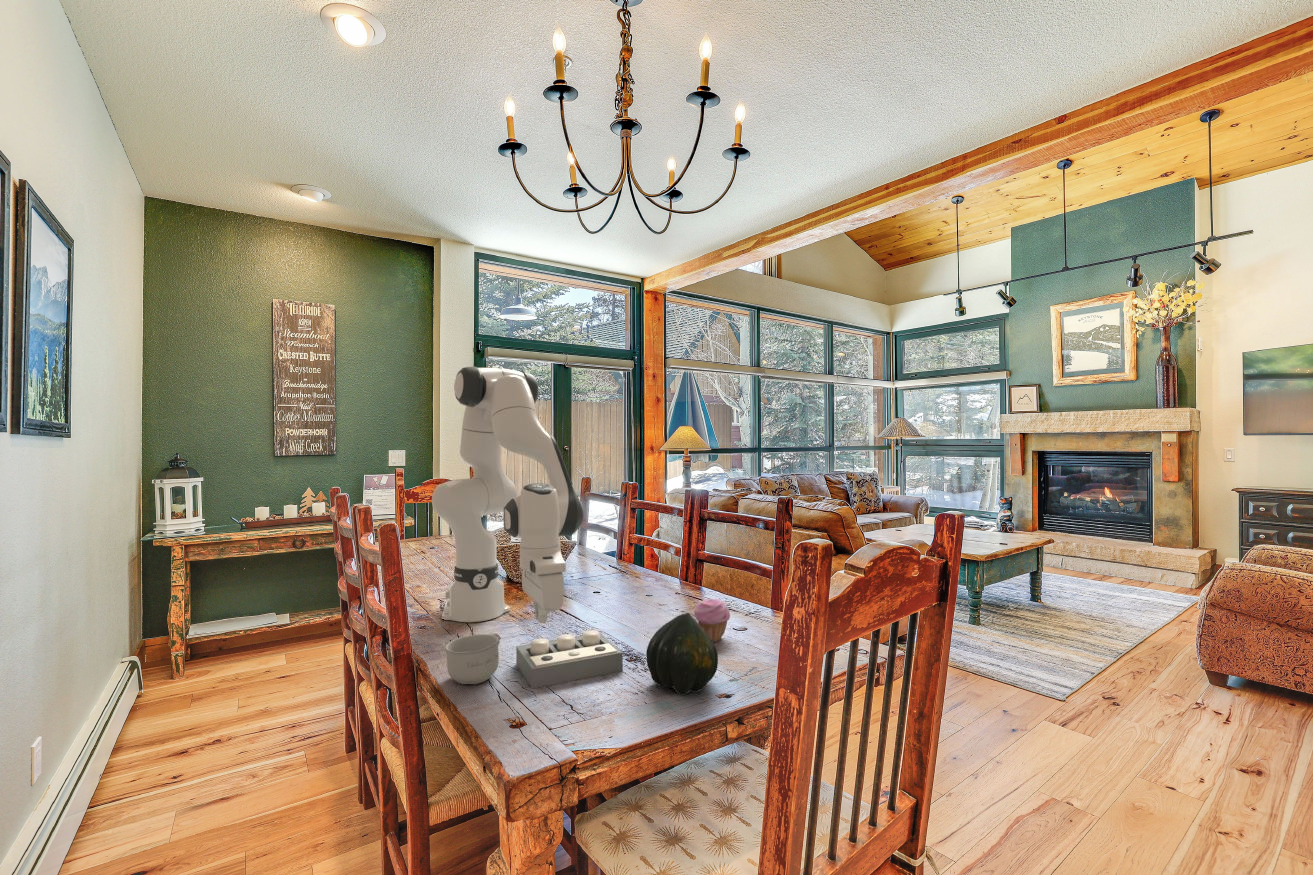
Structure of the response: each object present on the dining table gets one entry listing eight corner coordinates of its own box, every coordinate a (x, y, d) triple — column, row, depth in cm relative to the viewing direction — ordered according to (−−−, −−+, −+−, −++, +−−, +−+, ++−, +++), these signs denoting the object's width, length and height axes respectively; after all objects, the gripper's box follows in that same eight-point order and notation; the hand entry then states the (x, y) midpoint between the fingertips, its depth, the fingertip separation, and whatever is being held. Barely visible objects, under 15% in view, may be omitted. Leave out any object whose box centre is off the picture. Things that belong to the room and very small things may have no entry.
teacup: (469, 694, 117) (469, 654, 117) (434, 682, 123) (434, 644, 123) (520, 670, 129) (520, 634, 129) (486, 660, 134) (485, 625, 134)
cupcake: (687, 638, 148) (687, 599, 148) (708, 630, 154) (709, 592, 154) (716, 647, 142) (716, 606, 142) (736, 638, 148) (737, 599, 148)
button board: (516, 663, 132) (516, 644, 132) (599, 649, 141) (599, 630, 141) (532, 688, 120) (532, 666, 120) (622, 670, 129) (622, 650, 128)
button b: (554, 649, 133) (554, 635, 133) (571, 646, 135) (571, 633, 135) (560, 655, 129) (560, 641, 129) (577, 652, 131) (577, 638, 131)
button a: (528, 653, 130) (528, 640, 130) (546, 650, 132) (546, 637, 132) (533, 659, 127) (533, 646, 127) (551, 656, 129) (551, 643, 128)
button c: (579, 644, 136) (579, 631, 136) (596, 642, 137) (596, 629, 137) (585, 650, 132) (585, 637, 132) (602, 647, 134) (602, 634, 134)
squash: (651, 681, 110) (697, 614, 115) (623, 656, 124) (665, 597, 128) (702, 720, 115) (744, 655, 119) (669, 692, 128) (709, 634, 132)
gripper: (514, 551, 137) (515, 610, 137) (538, 568, 119) (539, 637, 119) (541, 548, 140) (542, 606, 140) (568, 565, 122) (569, 632, 122)
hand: (541, 621), depth 129 cm, fingers closed
